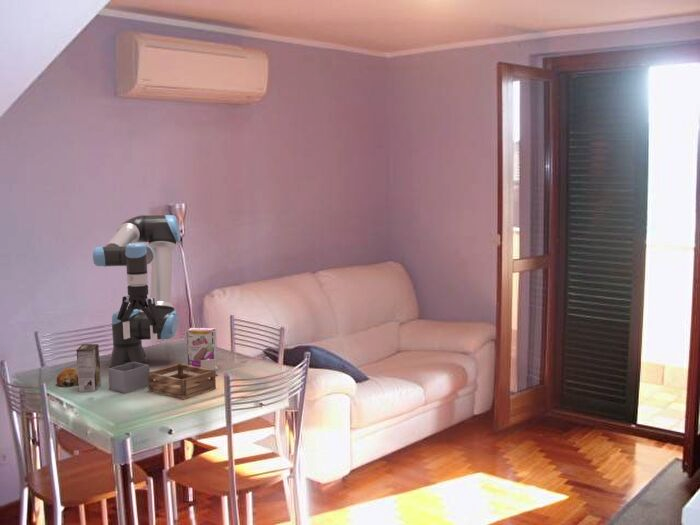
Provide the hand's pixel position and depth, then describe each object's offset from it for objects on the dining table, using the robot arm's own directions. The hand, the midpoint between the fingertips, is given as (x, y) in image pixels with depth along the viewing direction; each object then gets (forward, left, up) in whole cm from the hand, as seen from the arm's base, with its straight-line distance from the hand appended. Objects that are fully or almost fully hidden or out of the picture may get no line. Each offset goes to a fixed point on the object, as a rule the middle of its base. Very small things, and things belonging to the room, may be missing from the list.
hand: (140, 340), depth 296 cm
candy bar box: (0, +31, -18) cm, 36 cm away
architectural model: (+11, +23, -18) cm, 32 cm away
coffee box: (-15, -13, -18) cm, 27 cm away
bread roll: (-26, -13, -18) cm, 35 cm away
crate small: (-3, -4, -18) cm, 18 cm away
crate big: (+16, +5, -18) cm, 25 cm away
